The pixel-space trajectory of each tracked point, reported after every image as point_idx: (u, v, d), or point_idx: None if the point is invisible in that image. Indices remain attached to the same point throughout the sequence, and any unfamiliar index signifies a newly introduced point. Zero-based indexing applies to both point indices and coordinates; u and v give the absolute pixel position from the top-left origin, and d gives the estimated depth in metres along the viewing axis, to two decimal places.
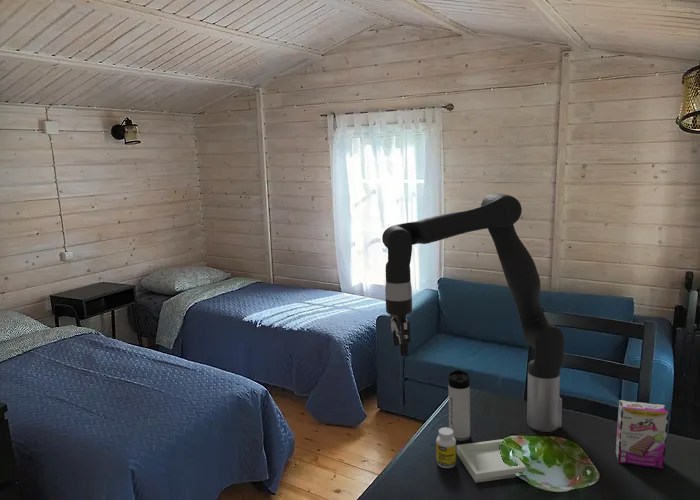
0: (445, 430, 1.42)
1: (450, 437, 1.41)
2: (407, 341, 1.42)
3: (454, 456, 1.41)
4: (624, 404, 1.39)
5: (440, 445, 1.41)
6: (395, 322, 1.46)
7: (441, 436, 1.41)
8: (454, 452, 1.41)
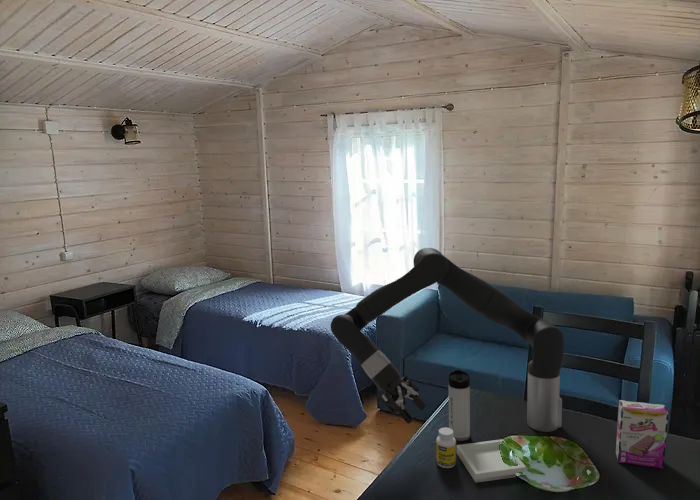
0: (445, 430, 1.42)
1: (450, 437, 1.41)
2: (395, 410, 1.41)
3: (454, 456, 1.41)
4: (624, 404, 1.39)
5: (440, 445, 1.41)
6: None
7: (441, 436, 1.41)
8: (454, 452, 1.41)
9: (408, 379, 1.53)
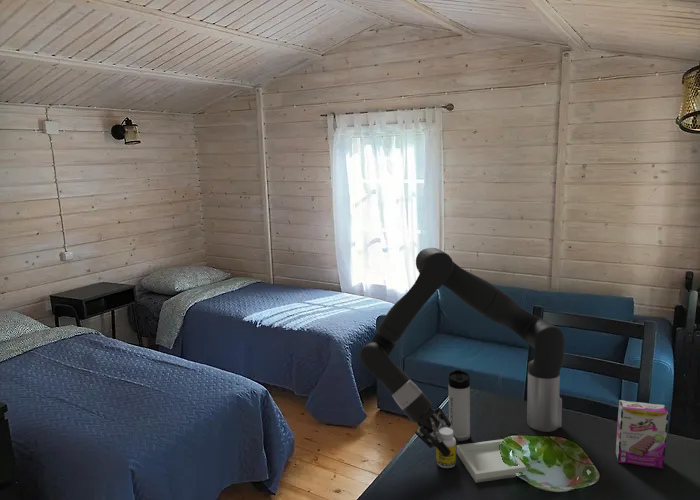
0: (445, 430, 1.42)
1: (450, 437, 1.41)
2: (432, 443, 1.38)
3: (454, 456, 1.41)
4: (624, 404, 1.39)
5: None
6: None
7: (441, 436, 1.41)
8: (454, 452, 1.41)
9: (441, 412, 1.48)
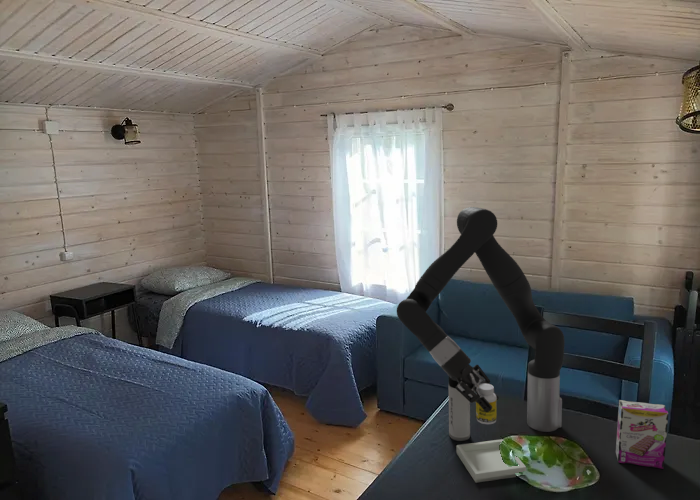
0: (485, 386, 1.39)
1: (491, 392, 1.37)
2: (473, 398, 1.35)
3: (495, 411, 1.38)
4: (624, 404, 1.39)
5: None
6: None
7: (482, 391, 1.38)
8: (495, 408, 1.38)
9: (479, 369, 1.45)
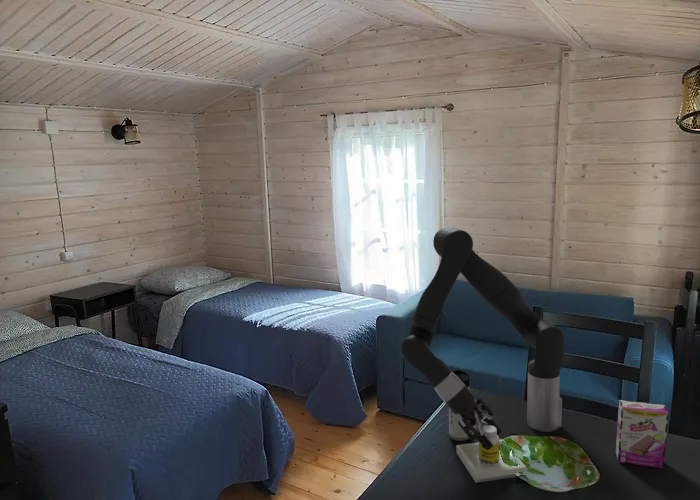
0: (488, 428, 1.41)
1: (494, 435, 1.39)
2: (474, 436, 1.36)
3: (498, 453, 1.40)
4: (624, 404, 1.39)
5: None
6: None
7: (485, 434, 1.40)
8: (498, 450, 1.40)
9: (481, 402, 1.47)
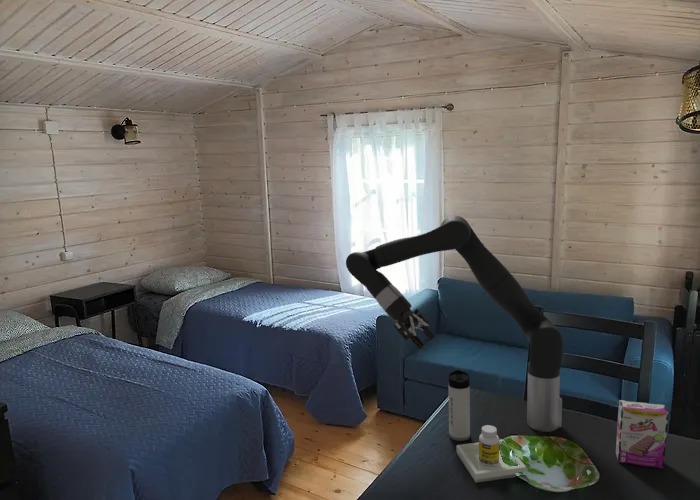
0: (488, 428, 1.41)
1: (494, 435, 1.39)
2: (407, 336, 1.52)
3: (498, 454, 1.40)
4: (624, 404, 1.39)
5: (483, 443, 1.39)
6: None
7: (485, 434, 1.39)
8: (498, 450, 1.40)
9: (419, 312, 1.63)
